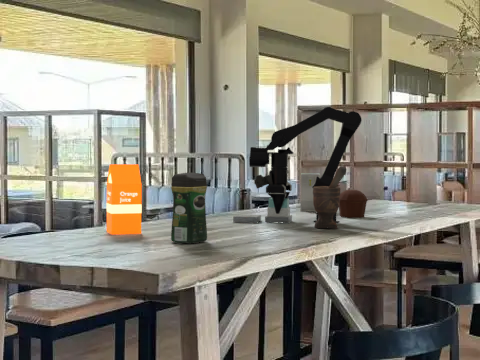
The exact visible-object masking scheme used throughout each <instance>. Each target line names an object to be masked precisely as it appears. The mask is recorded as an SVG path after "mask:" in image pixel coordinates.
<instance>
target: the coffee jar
mask: <svg viewBox="0 0 480 360" xmlns="http://www.w3.org/2000/svg"><path fill="white" fill-rule="evenodd" d="M170 188H171V192H172V199H173V200H172V202H173V204H172V219H171V232H170V233H171V234H170V240H171V242H173V243H174V244H178V243H180V244H179V245H182V244H190V245H191V243H194V244H199V242H200V243H204V242H206V241H207V239H208V228H207V215H206V214H207V213H206V212H207V211H206V210H207V209H206V194H207V189H208V182H207V176H206V175H205V174H204V173H199V172H182V173H175V174H173V176H172V177H171V186H170Z"/></svg>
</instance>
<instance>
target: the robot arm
mask: <svg viewBox="0 0 480 360" xmlns="http://www.w3.org/2000/svg"><path fill="white" fill-rule="evenodd" d="M328 120H331V121H334V122H337V123H341V127H340V133H339V136H338V138H337V140H336V143H335V145H334V148H333V150H332V152H331V155H330V157H329V159H328V162H327V164H326V166H325V168H324V171H323V173H322V174H320V177H318V176H316V179H315V183H314V184H313V185H312V188H313V187H316V186H328V187H329V186H330V184H331V182H332V180H333V178H334V176H335V174H336V171H337V169H338V168H339V167H340V166H339V165H340V163H341V161H342V158H343V156H344V153H345V152H346V149H347V147H348V145H349V142H350V141H351V139H352V138H353V136H354V134H355V133H356V131H357V130H358V128H359V127H360V125H361V124H362V116H361V114H360V113H359V112H357V111H354V110H353V111H349V112H348V111H343V110H339V109H336V108H333V107H331V106H326V107H324V108H323V109H322V110H319V111H318V112H316V113H314V114H312V115H310V116H309V117H307V118H305V119H303V120H302V121H300V122H298V123H296V124H294V125H291V126H287V127H284V128H281V129H278V130H276V131H274V132H273V133H272V135H271V141H270V142H269V143H268V144H267V145H266V147H256V146H252V147H251V146H250V150H249V151H250V153H249V156H248V158H249V159H248V162H249V163H248V164H249V165H248V166H249V168H266V167H267V165H269V164H271V165H270V167H271V168H270V170H269V172H268V174H267V175H264V176H263V175H262V174H259V175H256V176H255V179H253V184H254V185H255V188H256V189H261V188H263V187H264V186H266V187H265V193H266V194H267V196H270V198H272V199H273V202H274V207H275V211H276V214H279V213H280V210H281V208H282V205H283V202H284V199H285V198H289V196H290V194H291V191H292V189H293V188H292V183H290V182H289V181H288V180H289V179H288V178H289V176H288V175H289V172H290V170H289V155H293V154H294V151H292V149H291V148H290V147H289V146H288V147H287V149H286V148H285V149H284V147H286V145H288V144H289V143H290V142H292V141H293V140H294V139H295V138H296V137H298V136H299V135H301V134H302V133H304V132H306V131H309V130H310V129H312V128H314V127H316V126H317V125H320V124H322V123H323V122H325V121H328ZM277 148H278V149H277ZM279 148H282V149H279ZM275 149H277V152H275V151H274V150H275ZM269 151H270V152H269ZM271 151H274V152H271ZM270 156H271V157H270ZM315 213H316V214H315V215H316V217H315V219H316V220H313V223H316V221H318V219H319V215H318V214H317V212H315ZM333 220H334V221H335V222H336V223H340V221H339V220H337V212H336V213H335V214H334V215H333Z"/></svg>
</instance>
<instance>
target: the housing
mask: <svg viewBox="0 0 480 360" xmlns="http://www.w3.org/2000/svg"><path fill="white" fill-rule="evenodd" d="M266 213H267V214H266V216H273V217H289V216H290V215H291V207H290V198H289V197H288V198H285V199H284V202H283V205H282V208H281V210H280V213H279V214H276V211H275V207H274V202H273V199H272V197H269V198H268V207H267V212H266Z"/></svg>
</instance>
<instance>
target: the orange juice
mask: <svg viewBox="0 0 480 360" xmlns="http://www.w3.org/2000/svg"><path fill="white" fill-rule="evenodd" d="M141 178H142V177H141V172H140V165H139V164H136V163H134V164H127V163H126V164H123V163H122V164H120V163H119V164H118V163H117V164H113V163H111V164H109V167H108V173H107V181H106V232H107V233H108V234H110V235H141V234H142V213H143V211H142V206H143V204H142V201H143V200H142V199H143V198H142V187H143V186H142V179H141Z"/></svg>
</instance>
